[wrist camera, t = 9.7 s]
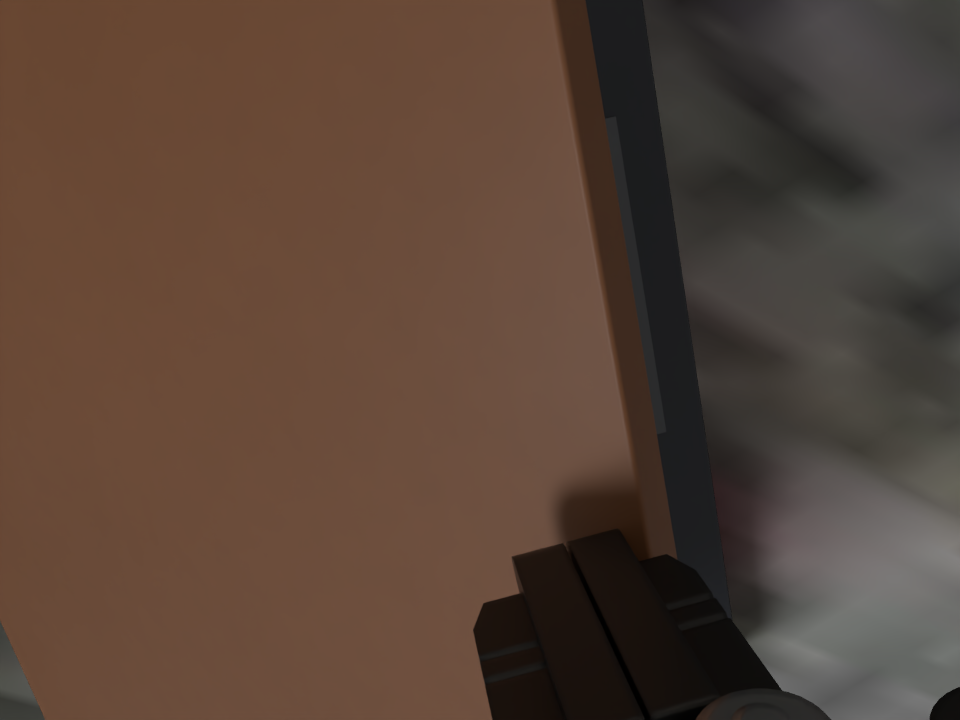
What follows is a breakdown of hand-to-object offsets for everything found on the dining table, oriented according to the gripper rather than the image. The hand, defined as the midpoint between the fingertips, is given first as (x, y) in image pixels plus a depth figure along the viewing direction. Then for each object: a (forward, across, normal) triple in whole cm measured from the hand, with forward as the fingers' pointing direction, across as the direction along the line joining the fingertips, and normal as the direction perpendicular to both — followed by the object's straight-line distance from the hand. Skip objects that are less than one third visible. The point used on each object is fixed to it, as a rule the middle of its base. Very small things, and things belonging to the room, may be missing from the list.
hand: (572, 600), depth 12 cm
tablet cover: (+7, +6, 0) cm, 10 cm away
